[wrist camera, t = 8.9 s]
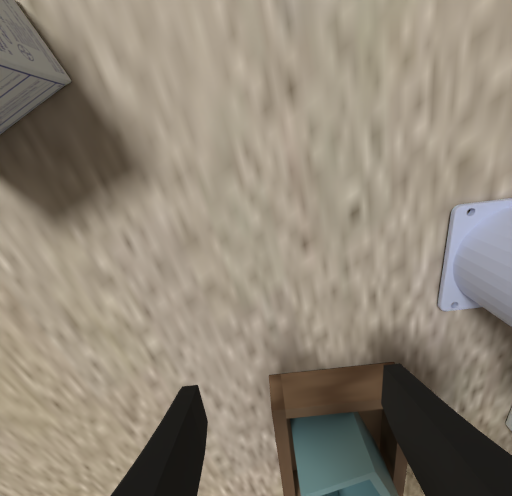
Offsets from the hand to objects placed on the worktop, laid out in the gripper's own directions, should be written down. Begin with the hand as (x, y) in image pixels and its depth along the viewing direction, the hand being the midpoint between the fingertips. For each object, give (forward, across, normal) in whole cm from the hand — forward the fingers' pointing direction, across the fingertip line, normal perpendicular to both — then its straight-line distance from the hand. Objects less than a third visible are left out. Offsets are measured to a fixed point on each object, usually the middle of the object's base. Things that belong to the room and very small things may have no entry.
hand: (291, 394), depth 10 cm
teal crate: (+9, -4, +16) cm, 18 cm away
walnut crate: (+9, -4, +16) cm, 19 cm away
